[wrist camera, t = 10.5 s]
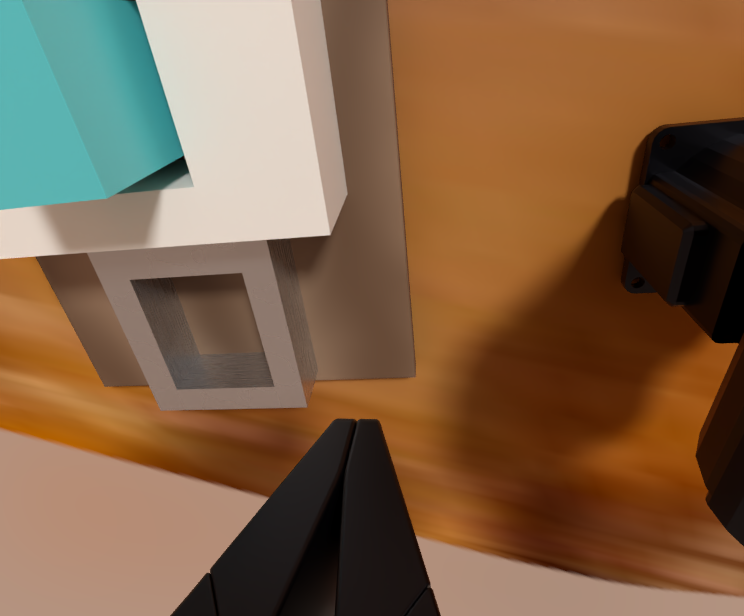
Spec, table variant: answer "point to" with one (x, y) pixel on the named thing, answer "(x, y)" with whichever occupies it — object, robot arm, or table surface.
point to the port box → (218, 138)
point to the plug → (78, 102)
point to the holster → (176, 342)
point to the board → (301, 242)
